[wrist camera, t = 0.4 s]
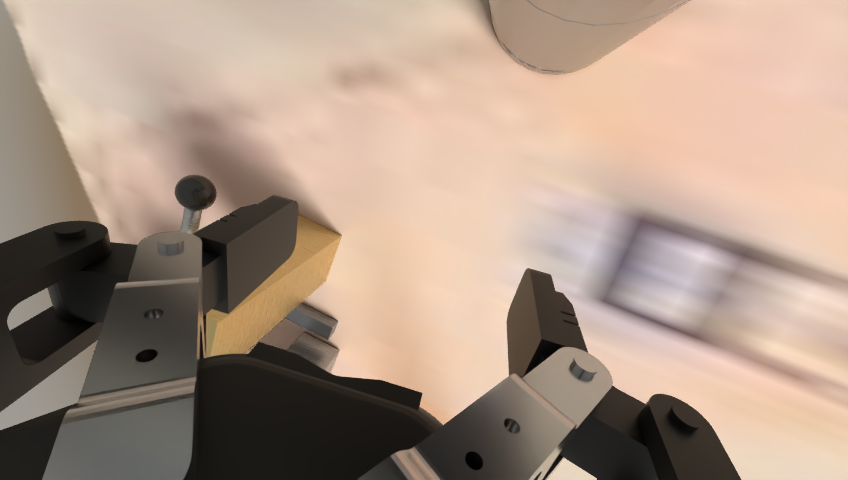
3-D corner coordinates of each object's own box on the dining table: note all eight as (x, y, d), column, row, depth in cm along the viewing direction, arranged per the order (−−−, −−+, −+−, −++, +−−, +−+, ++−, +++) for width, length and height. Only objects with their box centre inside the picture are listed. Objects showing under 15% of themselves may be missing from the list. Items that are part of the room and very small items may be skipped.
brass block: (292, 211, 33) (133, 279, 19) (341, 235, 32) (217, 323, 18) (279, 257, 35) (125, 350, 21) (325, 280, 34) (201, 391, 20)
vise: (223, 161, 33) (146, 173, 26) (371, 234, 32) (333, 267, 25) (185, 355, 41) (119, 403, 34) (300, 417, 41) (257, 479, 34)
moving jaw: (304, 332, 37) (256, 382, 30) (339, 350, 36) (299, 404, 29) (284, 387, 39) (237, 445, 33) (317, 404, 39) (276, 466, 32)
